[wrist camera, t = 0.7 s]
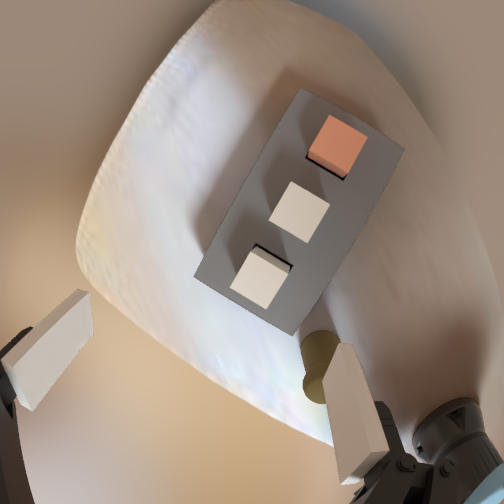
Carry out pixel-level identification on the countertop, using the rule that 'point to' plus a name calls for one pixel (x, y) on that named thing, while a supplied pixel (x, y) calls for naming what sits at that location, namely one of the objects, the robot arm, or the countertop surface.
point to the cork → (317, 362)
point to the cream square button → (260, 277)
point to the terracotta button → (337, 146)
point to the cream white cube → (299, 212)
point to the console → (316, 182)
